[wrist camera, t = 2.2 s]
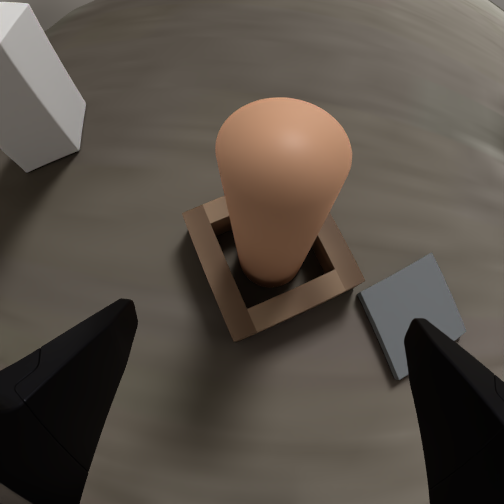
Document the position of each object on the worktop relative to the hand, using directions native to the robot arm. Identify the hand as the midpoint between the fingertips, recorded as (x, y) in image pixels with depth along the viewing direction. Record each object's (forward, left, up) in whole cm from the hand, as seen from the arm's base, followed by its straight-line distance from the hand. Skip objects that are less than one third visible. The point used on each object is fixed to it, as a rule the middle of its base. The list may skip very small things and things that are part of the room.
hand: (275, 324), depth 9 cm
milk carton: (-12, +26, -12) cm, 31 cm away
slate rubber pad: (+11, -4, -12) cm, 16 cm away
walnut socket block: (+3, +5, -12) cm, 13 cm away
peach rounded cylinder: (+3, +5, -12) cm, 13 cm away
